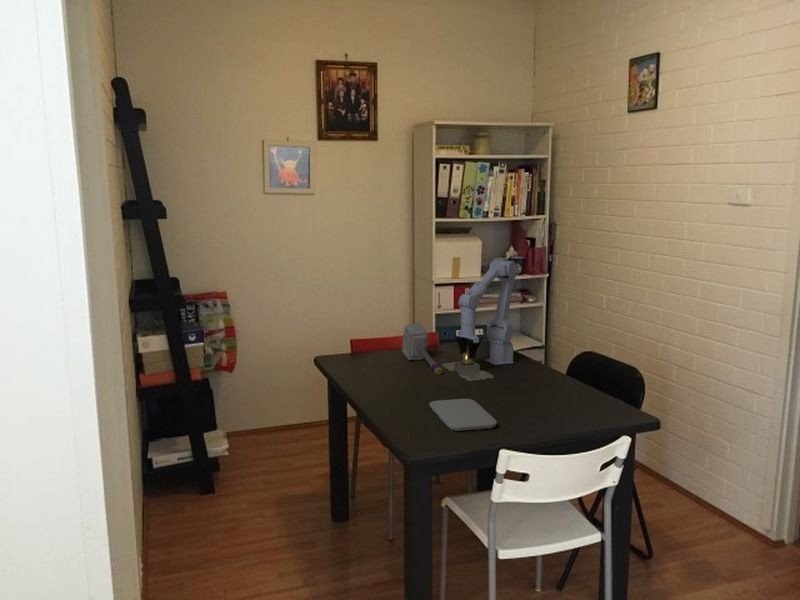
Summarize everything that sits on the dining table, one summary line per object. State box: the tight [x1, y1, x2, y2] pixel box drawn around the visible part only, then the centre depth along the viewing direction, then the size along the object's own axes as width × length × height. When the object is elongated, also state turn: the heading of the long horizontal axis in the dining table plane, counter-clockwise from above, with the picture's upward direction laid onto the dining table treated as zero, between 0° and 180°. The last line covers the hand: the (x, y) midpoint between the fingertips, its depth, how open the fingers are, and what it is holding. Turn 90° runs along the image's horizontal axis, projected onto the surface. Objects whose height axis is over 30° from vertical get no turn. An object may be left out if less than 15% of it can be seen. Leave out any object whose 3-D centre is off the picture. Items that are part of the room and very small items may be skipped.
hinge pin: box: [462, 351, 473, 366], centre depth 279 cm, size 4×4×8 cm
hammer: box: [401, 322, 443, 376], centre depth 287 cm, size 15×8×30 cm
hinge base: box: [441, 360, 494, 382], centre depth 279 cm, size 11×23×4 cm, turn 23°
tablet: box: [429, 398, 498, 431], centre depth 226 cm, size 16×26×2 cm, turn 14°
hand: (467, 356), depth 278 cm, fingers open, 7 cm apart
